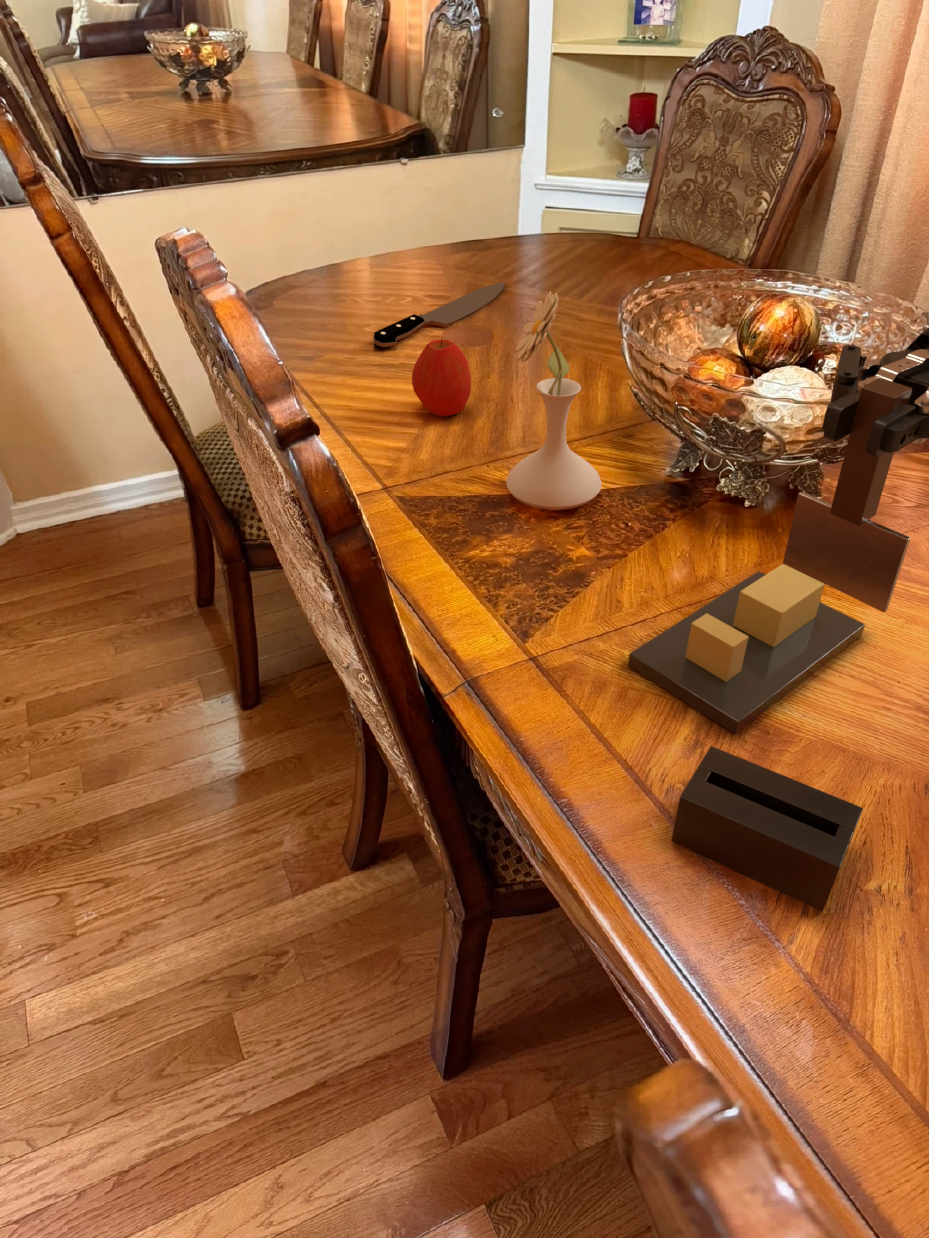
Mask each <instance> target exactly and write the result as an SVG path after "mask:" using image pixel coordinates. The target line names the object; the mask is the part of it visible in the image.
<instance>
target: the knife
mask: <svg viewBox="0 0 929 1238" xmlns="http://www.w3.org/2000/svg"><path fill="white" fill-rule="evenodd" d="M911 392H912V388H911V387H907V386H904V385H901V384H898V383H895V382H891V381H888V380H885V379H882V378H877V379H876V380H874V381H872V382H870V383H869V384H867V385H865V386H863V387H862V388H861V392H860V396H859V400H858V405H857V409H856V413H855V417H854V421H853V425H852V429H851V432H850V434H849V435H848V440H847V443H846V444H847V445H846V448H845V451H844V456H843V460H842V464H841V468H840V471H839V475H838V479H837V482H836V487H835V491H834V494H833V499H832V503H830V502H827V501H825V500H823V499H820V498H818V497H816V496H813V495H811V494H808V493H806V492H804V491H800V492H798V494H797V498H796V503H795V507H794V512H793V515H792V520H791V525H790V529H789V533H788V539H787V542H786V548H785V551H784V556H783V561H782V564H785V565H787V566H789V567H791V568H793V569H795V570H797V571H799V572H801V573H803V574H805V575H807V576H809V577H811V578H813V579H816V580H818V581H820V582H822V583H824V584H825V585H826V586H828V587H830V588H832V589H834V590H836V591H838V592H840V593H843V594H845V595H847V596H849V597H851V598H852V599H855V600H856V601H859V602H860V603H863V604H865V605H868V606H869V607H872V608H874V609H876V610H877V611H880V612H882V613H886V612H887V611H888V609H889V606H890V604H891V600H892V597H893V594H894V591H895V589H896V588H895V587H896V584H897V581H898V578H899V575H900V573H901V569H902V566H903V563H904V561H905V557H906V554H907V551H908V548H909V545H910V543H911V539H912V537H911V536H908V535H906V534H904V533H901V532H899V531H896V530H894V529H892V528H889V527H887V526H885V525H883V524H880V523H877V522H875V521H872V520H871V519H872V518H874V517H875V516H876V515H877V513H878V512H877V511H878V508H879V505H880V503H881V499H882V498H881V497H882V495H883V491H884V488H885V484H886V480H887V477H888V474H889V470H890V468H891V463H892V462H893V461H892V460H893V456H894V454H895V452H893V453H887V452H886V453H884V454H883V455H881V456H880V457H875V456H872V455H869V454H867V453H866V446H867V443H868V439H869V436H870V432H871V429H872V426H873V424H874V423H875V421H876V420H878V419H879V418H881V417H883V416H885V415H886V414H888V413H890V412H893V411H895V410H896V409H898V408H900V407H902V406H904V405H905V404H908V402H909V399H910V395H911Z"/></svg>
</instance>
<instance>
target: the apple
mask: <svg viewBox="0 0 929 1238" xmlns="http://www.w3.org/2000/svg"><path fill="white" fill-rule="evenodd" d="M414 363H415V364H414V366H413V368H412V372H411V385H412V389H413V392H414V393H415V394H414V395H416V397H417V398H418V400H419V401H420V403H421V404H422V406H423V407H424V409H425V410H427V411H428V412H429V413H431V414H434V415H436V416H439V417H449V416H454V415H457V414H460V413H461V412H462V411H463V410H464V408H465V407H466V405H467V403H468V400H469V398H470V395H471V391H472V376H471V371H470V365H469V362H468V360H467V358H466V356H465V354H464V353H463V351H462V350H461V349H460V348H459V346H458V345H457V344H455V342H452V341H451V340H448V339H443V338H440V339H434V340H431V341H429V342H428V343H427V344H426V345H425V346H424V348H423V349H422V351H421V353H420V354H419V356H418V358H417V359H416V362H414Z"/></svg>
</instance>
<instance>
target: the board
mask: <svg viewBox="0 0 929 1238" xmlns="http://www.w3.org/2000/svg"><path fill="white" fill-rule="evenodd" d="M765 575H766V574H765V573H763V572H761V571H756V572H754V573H753V574H751V576H749V577H747V578H745V579H744V580H742V581H740V582H739V583H737V584H736V585H734V586H733V587H731V588H730V589H729V590H726V591H725V592H723V593H722V594H721V595H719V596H717V597H716V598H714V599H713V600H711V601H709V602H708V603H707V604H704V605H703V606H701V607H700V608H699V609H697V610H695V611H694V612H692V613H690V614H689V615H687V616H686V617H684V618H683V619H681V620H680V621H678V622H677V623H675V624H673V625H672V626H670V627H669V628H667V629H666V630H664V631H662V632H661V633H659V634H658V635H656V636H655V637H653V638H651V639H650V640H648V641H647V642H645V643H643V644H642V645H640V646H639V647H637V648H636V649H634V650H633V651H631V652H630V653H629V654H628V662H627V666H628V667H630V668H631V669H632V670H634V671H635V672H637V673H639V674H641V675H642V676H644V677H645V678H647V679H648V680H650V681H651V682H652V683H654V684H656V685H658V686H659V687H661V689H664V690H665V691H667V692H669V693H670V694H672V695H673V696H675V697H677V698H678V699H679V700H680V701H682V702H684V703H686V704H687V705H689V706H690V707H692V708H693V709H695V710H696V711H698V712H699V713H701V714H703V715H704V716H706V717H707V718H709V719H710V720H712V721H713V722H715V723H716V724H718V725H720V726H721V727H723V728H725V729H726V730H727V731H729V732H731V733H732V734H734V735H737V734H738V733H739V732H741V731H742V730H744V729H745V728H746V727H747V726H749V724H751V723H752V722H754V720H756V719H757V718H759V717H761V715H762V714H764V713H765V712H766V711H768V710H769V709H770V708H771V707H773V706H774V705H775V704H777V703H778V702H779V701H781V700H782V699H783V698H784V697H786V696H787V695H789V693H790V692H792V691H793V690H795V689H796V688H797V687H798V686H800V685H801V684H802V683H804V682H805V681H806V680H808V679H809V678H810V677H811V676H812V675H814V674H815V673H816V672H818V671H819V670H821V668H823V667H824V666H826V665H827V664H828V663H829V662H831V661H832V660H833V659H834V658H836V657H837V656H838V655H840V654H841V653H842V652H844V651H845V650H846V649H848V648H849V647H850V646H851V645H852V644H854V643H855V642H856V641H857V640H859V639H860V638H861V637H862V636H863V633H864V630H865V626H866V624H865V623H863V622H861V621H859V620H857V619H855V618H853V617H851V616H849V615H847V614H845V613H843V612H841V611H839V610H837V609H835V608H833V607H831V606H829V605H827V604H825V603H823V602H821V601H820V603H819V607H818V610H817V614H816V617H815V618H813V619H812V620H811V621H809V622H808V623H806V624H805V625H804V626H802V627H801V628H800V629H798V630H797V631H795V632H794V633H793V634H791V635H790V636H788V637H787V638H786V639H784V640H783V641H782V642H780V643H779V644H777V645H776V646H775V647H772V646H770V645H768V644H766V643H764V642H763V641H761V640H759V639H757V638H755V637H754V636H752V635H750V634H748V633H746V632H744V631H743V630H741V629H739V628H737V627H735V626H734V625H733V623H734V618H735V613H736V609H737V604H738V599H739V595H740V591H742V590H743V589H745V588H746V587H748V586H749V585H751V584H752V583H754V582H755V581H757V580H759V579H760V578H762V577H763V576H765ZM706 613H707V614H709V615H711V616H713V617H714V618H716V619H718V620H720V621H722V622H723V623H725V624H727V625H729V626H731V627H732V628H734V629H736V630H738V631H740V632H741V633H743V634H745V635H747V636H748V637H749V638H748V642H747V646H746V651H745V655H744V659H743V664H742V668H741V671H740V672H739V673H738V674H736V675H735V676H733V677H732V678H731V679H729V680H728V681H727V682H725V681H724V680H722V679H720V678H719V677H717V676H715V675H714V674H712V673H710V672H709V671H707V670H705V669H704V668H702V667H700V666H699V665H697V664H695V663H694V662H692V661H690V660H689V659H687V658H686V651H687V646H688V640H689V634H690V629H691V623H692V622H694V621H696V620H697V619H699V618H700V617H702V616H703V615H705V614H706Z"/></svg>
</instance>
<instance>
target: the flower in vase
mask: <svg viewBox="0 0 929 1238" xmlns="http://www.w3.org/2000/svg"><path fill="white" fill-rule="evenodd" d="M559 299H560V297H559V296H558V292H555V293H554V294H552V291H551V290H550V291H549V292H548V293H547V295H546V296H545V299H544V302H543V301H542V300H538V302H537V304H536V307H535V311H534V313H533V315H532V321H529V322H527V323H526V324H525V325H524V327H523V330H522V331H523V333H524V334H526V335H525V336H524V337H522V339H521V340H520V342H519V343H518V344H517V346H516V348H515V352H516V353H518V352H520V353H519V354H518V356H517V357H516V361H520V362H521V363H526V362H527V361H528V360H530V359H531V358H532V357H533V356H534V354H535V353H536V352H537V351H538V349H539V348H540V346H541V344H543V342H544V341H545V339H546V337H547V339H548V341H549V343H550V345H551V347H552V350H553V351H552V352H551V353H550V355H549V356H548V359H547V362H546V365H547V368H548V369H549V370H550V372H551V373H552V375H553V376H554V377H552V378H551V377H550V378H545V379H543V380H541V381H539V382H538V383H537V384H536V385H535V388H536V391H537V392H538V394H539V395H540V396H541V399H542V401H543V404H544V408H545V414H546V415H545V416H546V434H545V440H544V443H543V445H542V446H541V447H540V448H539V449H537V450H535V452H532V453H531V454H529V455H527V456H526V457H524V458H522V459H521V460H519V462H517V464H515V465H514V466H513V467H512V468H511V469H510V470H509V473H508V475H507V477H506V479H505V480H506V481H505V485H506V487H507V490H508V491H509V492H510V494H511V495H512V496H513V497H514V498H515V499H516V500H517V501H519V502H520V503H522V504H524V505H527V506H529V507H533V508H536V509H543V510H549V511H550V510H551V511H560V510H561V511H562V510H569V509H570V510H571V509H576V508H578V507H582V506H584V505H586V504H588V503H590V502H591V501H593V500H594V499H595V498H596V497H597V495H598V494H599V493H600V491H601V490H602V486H603V485H602V480H601V477H600V474H599V472H598V471H597V469H596V468H594V466H593V465H591V463H590V462H588V461H587V460H586V459H584V458H583V457H582V456H580V455H579V454H577V453H576V452H575V451H573V450H571V448H570V447H569V445H568V443H567V424H568V423H567V422H568V419H569V412H570V409H571V405H572V403H573V401H574V400H575V398H576V396H577V395H578V394H579V393H580V391H581V390H582V385H581V384H580V383H579V382H577V381H576V380H573V379H570V378H566V377H565V376H566V375H567V374H568V373H569V371H570V369H571V368H570V365H569V363H568V361H567V360H566V358H565V356H564V355H563V353H562V351H561V349H560V347H559V345H557V346H556V343H555V341H554V339H553V337H552V335H551V332H550V329H551V327H552V324H553V323H554V321H555V318H556V314H557V313H556V312H557V311H558V306H559Z"/></svg>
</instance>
